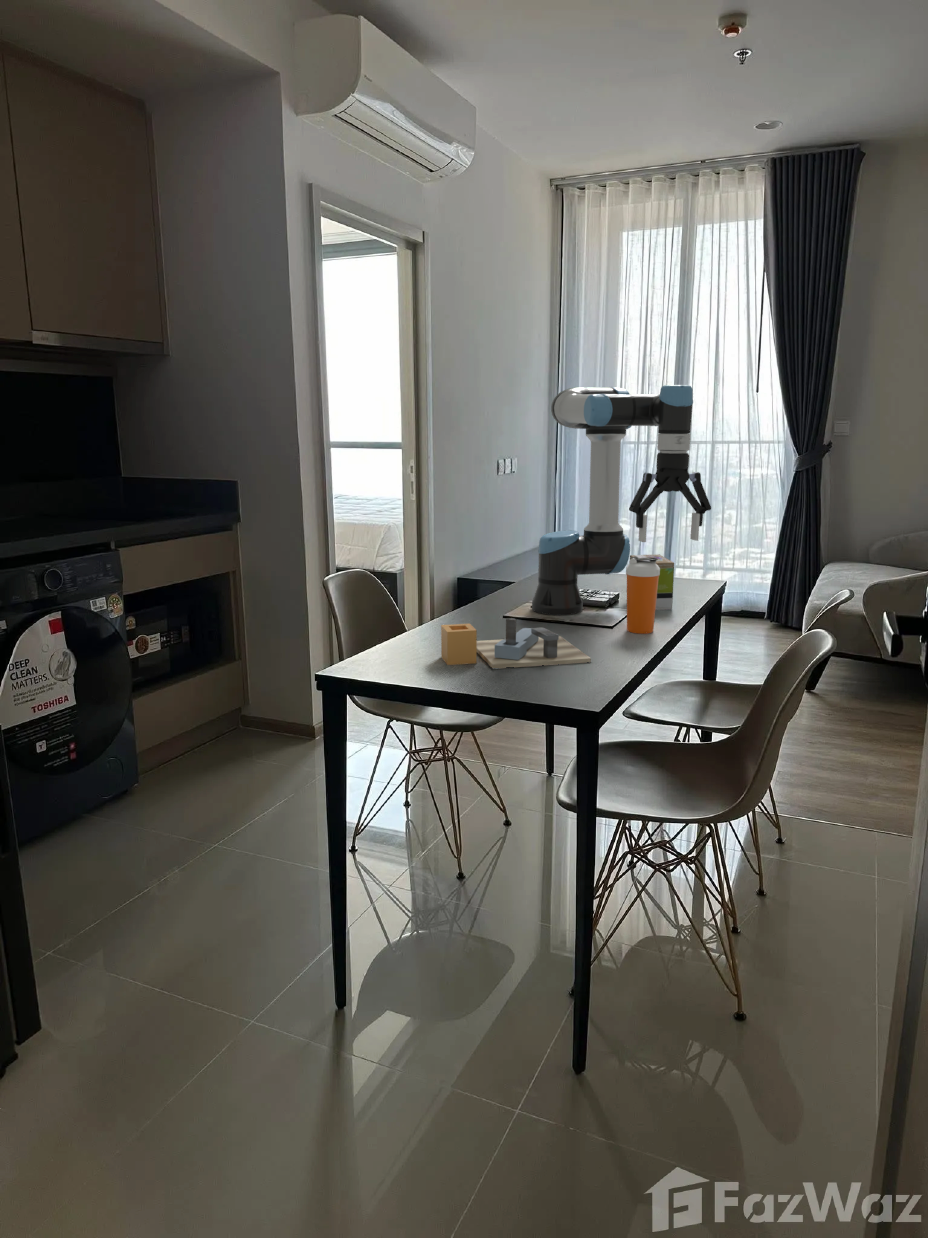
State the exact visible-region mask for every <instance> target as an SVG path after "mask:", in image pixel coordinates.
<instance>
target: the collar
mask: <svg viewBox="0 0 928 1238" xmlns="http://www.w3.org/2000/svg"><path fill="white" fill-rule="evenodd" d="M440 627H441V628H440V629H441V630H440V631H441V632H440V635H441V636H440V640H441V641H440V642H441V643H440V645H441V650H440V651H441V658H442V660H443V661H444V662H445V664H446V666H455V665H469V664H470V665H471V664H477V655H478V653H477V641H478V640H477V638H478V637H477V636H478V635H477V633H478V632H477V629H476V628H475V627H474V626H473V625H472V624H471V623H456V624H441V625H440Z"/></svg>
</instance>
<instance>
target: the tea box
mask: <svg viewBox="0 0 928 1238" xmlns="http://www.w3.org/2000/svg"><path fill="white" fill-rule="evenodd" d="M634 556H636V557H638V558H648V557H650V558H657V559H658V560H656V564H657V565H658V566H659V568H660V575H659V579H658V589H657V599H656V609H655V611H669V610H670V611H671V610H673V604H674V603H673V602H674V601H673V600H674V578H675V577H674V575H675V562H674V561H672V560H670V559H668V558H666V557H665V556H663V555H661V554H636V555H635V554H632V555H631V554H630V555H629V560H630V559H631V558H632V557H634ZM641 561H649V560H641Z"/></svg>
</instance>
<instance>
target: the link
mask: <svg viewBox="0 0 928 1238" xmlns="http://www.w3.org/2000/svg"><path fill="white" fill-rule="evenodd" d="M531 628H532V627H531ZM531 628H529V627H522V628H521V629H519V630H518V631H516V645H515V646H514V645H506V638H504V639H503V638H502V639H503V640H501V641H500V642H498V643H497V644H496V645H495V658H505V659H514V660H519V659H521V658H522V657H523V656H524V655H525V654H527V649H529V648H530V647H531V646H532V645H534V644H535V643H536V642H537V641H538V640H539V637H538V636H536V635H534V634H532V633H531Z"/></svg>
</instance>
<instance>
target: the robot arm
mask: <svg viewBox="0 0 928 1238" xmlns="http://www.w3.org/2000/svg"><path fill="white" fill-rule="evenodd" d="M693 392H694V391H693V386H691V385H689V384H665V385H662V386H661V387H660V392H659V394H658V393H656V394H655V393H654V394H652V393H650V394H649V393H648V394H647V393H646V394H644V393H643V394H630V392H629V391H628V390H627V389H625V388H623V387H613V386H609V387H606V386H604V387H603V386H602V387H598V386H597V387H595V386H593V387H582V386H577V387H571V388H567V389H564V390H561V391H560V392H558V393H557V394H556V395H555V396H554V398H553V400H552V403H551V406H550V413H551V415H552V417H553V419H554V421H556V423H557V424H559V425H561V426H563V427H566V428H570V429H580V430H583V429H584V430H585V437H587V438H588V440H590V461H589V462H590V466H589V467H590V468H589V508H588V510H589V511H588V514H589V515H588V517H589V518H588V524H587V525H586V526H585V527H584V528H583V535H580V533H579V532H578V531H577V530H570V529H569V530H558V531H553V532H549V533H546V534H544V535H541V537H540V538H539V542H538V551H537V553H538V573H537V574H538V575H537V576H538V577H537V578H538V579H537V580H538V581H537V586H536V590H535V592H534V595H533V598H532V602H531V611H533V612H536V613H539V614H543V615H553V616H564V615H565V616H567V615H575V614H580V613H582V612H583V605H584V604H583V600H582V595H581V593H580V590H579V589H580V588H579V586H578V577H579V576H580V575H584V576H585V575H610V574H618V573H621V572H622V571H624V569H626V567H627V566H628V563H629V560H630V555H631V554H630V553H631V544H630V538H629V536H628V535H627V534H624V528H623V527H622V526H621V525H620V524H619V516H620V515H619V512H620V510H619V509H620V508H619V507H620V505H619V504H620V503H619V502H620V480H621V479H620V478H621V477H620V472H621V471H620V469H621V467H620V466H621V442H622V440H623V439H624V437H626V436H627V430H629V429H630V428H632V427H636V426H637V427H658V428H657V432H658V433H657V448H656V449H657V451H659V452H657V454H656V472H655V473H652V472H644V473H643V475H642V482H641V483H640V485H639V488H638V489H637V490H636V491H637V492H636V493H635V496H634V497H633V499H632V501H631V503H630V505H629V507H628V511H629V512H633V513H635V515H636V517H635V526H636V528H637V529H638V542H641V543H646V542H647V526H648V514H645V513H646V512H647V511H648V510H649V508H650V507H651V506H652V505H653V503H654V502H656V500H657V499H658V498H659V496H660V495H661V494H663V493H664V492H666V493H668V492H676V493H677V492H680V493H681V494H682V495H683V497H684V498H685V499H686V500H687V502H688V503H689V505H690V506H691V507H692V509H693V510H694V512H691V525H690V526H691V527H690V540H692V541H694V542H695V541H699V537H700V536H699V534H700V527H702V526H703V523H704V522H703V519H704V517H703V516H704V515H705V514H706V512H708V511H711V510H712V506H711V503H710V501H709V499H708V496H707V494H706V491H705V488H704V486H703V483H702V477H701V472H698V471H692V472H691V473H689V466H690V453H689V452H688V451H690V447H691V430H692V416H693V404H694V400H693V398H694V397H693V395H694V394H693ZM654 480H655V482H656V484H655V485H654V487H652V490H651V491H650V492H649V494H648V495H647V496H646V494H647V492H648V491H649V488H650V487H651V484H652V483H653V482H654ZM688 481H690V482H691V483H692V487H693V489H694V491H695V493H696V494H695V495H696V497H697V498H696V497H695V495H694V494H693V493H692V491H691V489H690V487H689V486H688V484H687V482H688ZM645 497H646V498H645ZM578 575H579V576H578Z"/></svg>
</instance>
